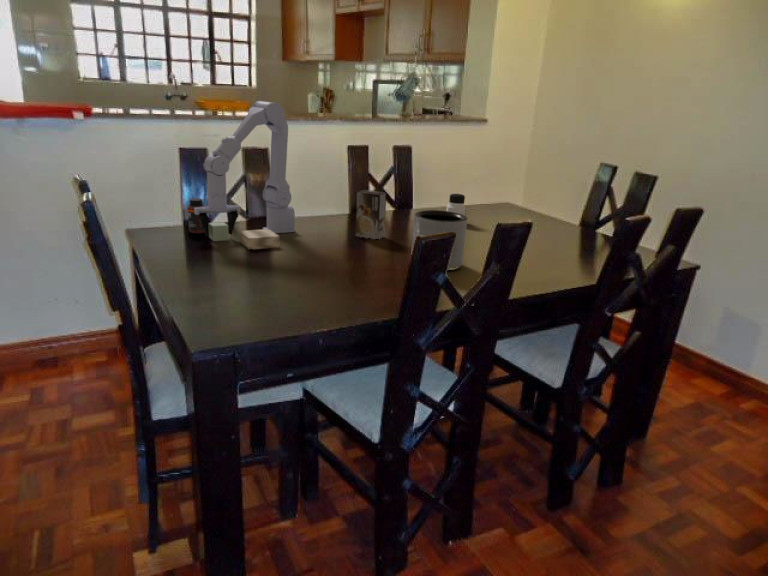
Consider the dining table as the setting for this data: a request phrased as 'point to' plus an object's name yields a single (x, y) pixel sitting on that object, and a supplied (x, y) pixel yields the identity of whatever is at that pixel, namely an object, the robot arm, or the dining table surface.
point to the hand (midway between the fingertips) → (218, 234)
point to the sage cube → (218, 231)
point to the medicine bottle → (456, 204)
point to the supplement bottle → (195, 216)
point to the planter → (442, 230)
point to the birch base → (259, 239)
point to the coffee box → (370, 214)
